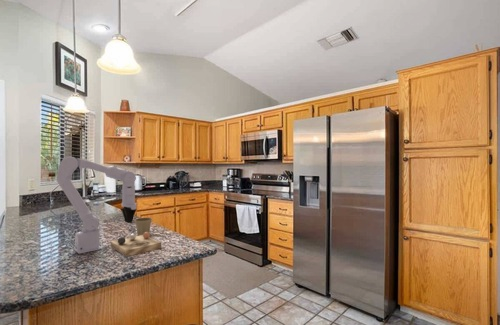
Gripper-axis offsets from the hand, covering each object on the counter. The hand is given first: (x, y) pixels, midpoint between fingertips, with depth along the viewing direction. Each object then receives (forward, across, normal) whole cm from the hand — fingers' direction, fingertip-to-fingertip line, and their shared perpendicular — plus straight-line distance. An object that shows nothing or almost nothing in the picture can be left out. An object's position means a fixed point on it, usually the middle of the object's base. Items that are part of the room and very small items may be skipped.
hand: (128, 222), depth 129 cm
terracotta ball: (+6, -7, -6) cm, 11 cm away
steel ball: (+6, -5, 0) cm, 8 cm away
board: (+10, -9, 0) cm, 14 cm away
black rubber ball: (+6, -8, +6) cm, 12 cm away
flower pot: (+11, +11, -12) cm, 19 cm away
